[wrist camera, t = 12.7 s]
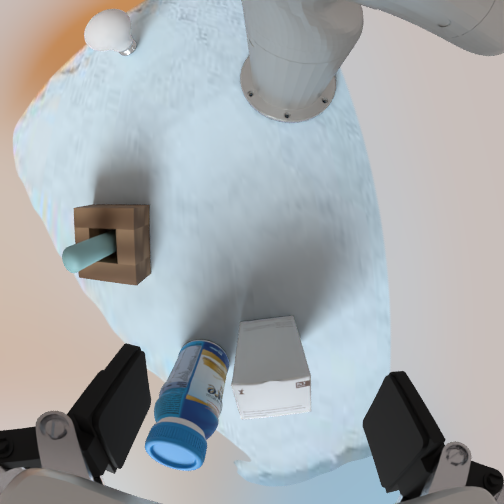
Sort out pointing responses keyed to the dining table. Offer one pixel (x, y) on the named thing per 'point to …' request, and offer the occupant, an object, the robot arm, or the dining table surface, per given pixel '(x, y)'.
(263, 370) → the skincare box
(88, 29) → the light bulb
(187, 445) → the beverage bottle
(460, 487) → the robot arm
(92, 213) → the socket block
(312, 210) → the dining table surface
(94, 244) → the peg
